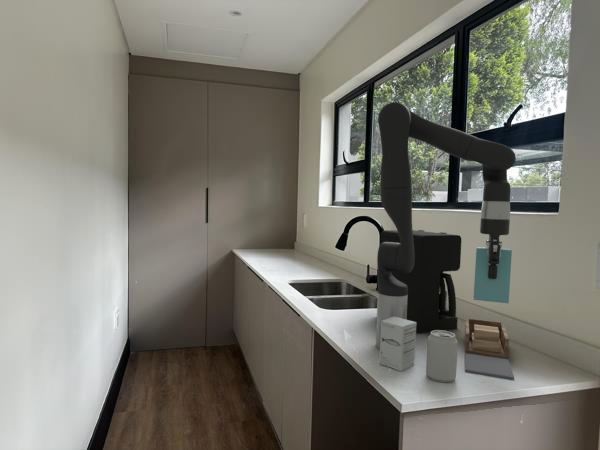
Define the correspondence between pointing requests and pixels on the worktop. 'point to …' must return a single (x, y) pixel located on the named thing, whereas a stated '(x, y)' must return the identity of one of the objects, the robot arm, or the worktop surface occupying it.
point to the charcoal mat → (488, 366)
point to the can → (441, 356)
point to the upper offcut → (486, 333)
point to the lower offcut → (485, 345)
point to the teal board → (492, 287)
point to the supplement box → (397, 343)
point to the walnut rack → (468, 349)
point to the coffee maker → (430, 279)
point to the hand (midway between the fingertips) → (491, 277)
